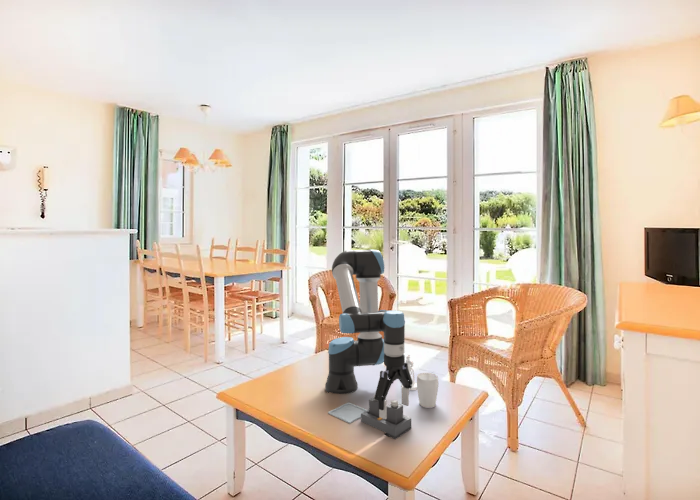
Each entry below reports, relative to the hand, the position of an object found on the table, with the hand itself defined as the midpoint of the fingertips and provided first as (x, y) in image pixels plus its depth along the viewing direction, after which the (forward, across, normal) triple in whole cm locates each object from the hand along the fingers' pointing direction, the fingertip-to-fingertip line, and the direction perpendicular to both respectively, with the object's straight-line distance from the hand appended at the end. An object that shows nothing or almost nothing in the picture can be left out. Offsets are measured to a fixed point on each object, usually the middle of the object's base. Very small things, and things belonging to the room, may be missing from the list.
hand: (394, 411), depth 137 cm
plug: (+6, 0, 0) cm, 6 cm away
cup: (+7, +26, +2) cm, 27 cm away
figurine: (+7, +37, +18) cm, 42 cm away
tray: (+7, -3, +20) cm, 21 cm away
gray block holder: (+7, 0, +4) cm, 8 cm away
